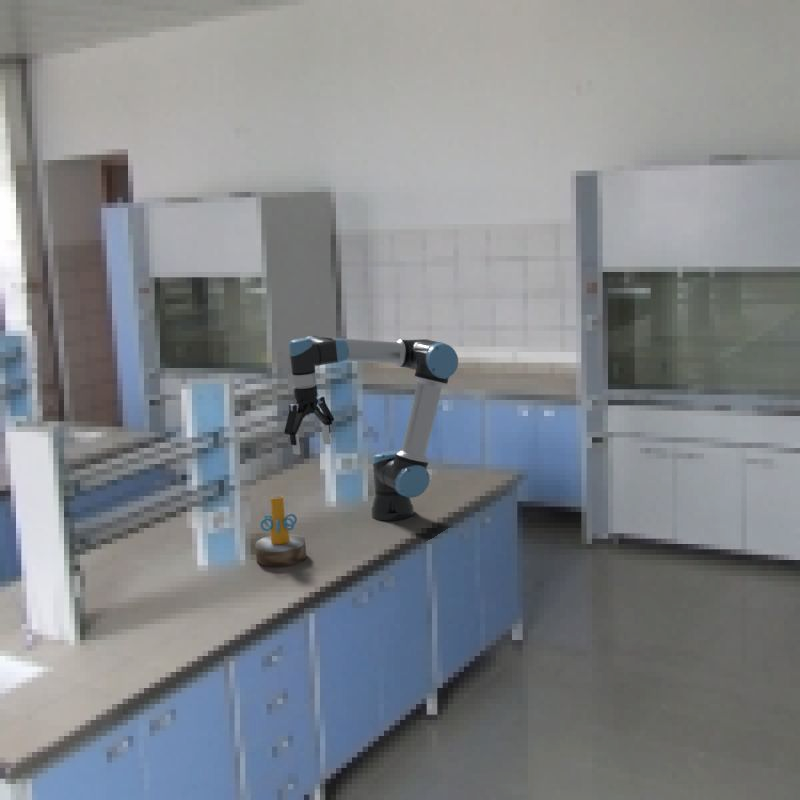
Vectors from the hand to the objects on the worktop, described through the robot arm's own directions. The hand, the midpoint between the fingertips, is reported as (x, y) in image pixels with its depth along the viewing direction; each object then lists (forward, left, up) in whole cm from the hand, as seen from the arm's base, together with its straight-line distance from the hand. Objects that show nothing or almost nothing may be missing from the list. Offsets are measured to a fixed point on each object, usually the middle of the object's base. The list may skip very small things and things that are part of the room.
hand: (312, 449), depth 356 cm
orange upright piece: (+18, +1, -27) cm, 32 cm away
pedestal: (+18, +1, -32) cm, 37 cm away
